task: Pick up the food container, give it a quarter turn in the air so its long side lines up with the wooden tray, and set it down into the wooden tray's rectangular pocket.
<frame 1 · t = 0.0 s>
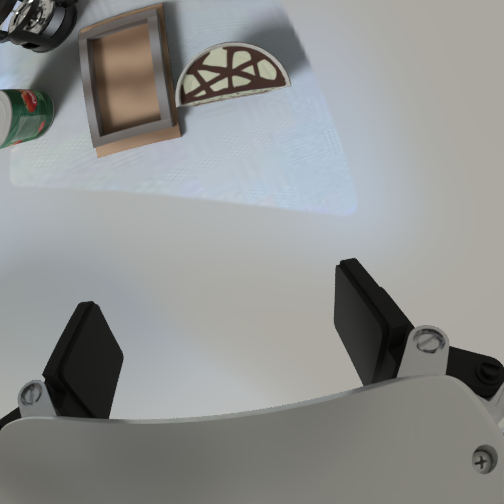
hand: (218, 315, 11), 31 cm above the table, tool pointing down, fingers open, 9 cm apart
french press: (54, 23, 25), on the table
canned tomato: (35, 114, 31), on the table
wooden tray: (127, 78, 31), on the table
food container: (226, 77, 33), on the table
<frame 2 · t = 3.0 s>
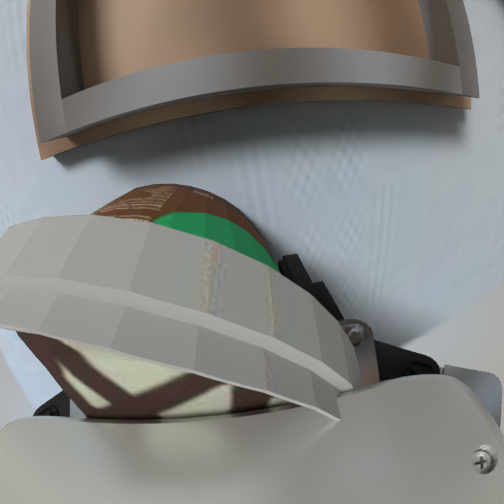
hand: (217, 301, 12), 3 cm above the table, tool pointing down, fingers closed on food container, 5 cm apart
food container: (228, 265, 14), on the table, touching gripper
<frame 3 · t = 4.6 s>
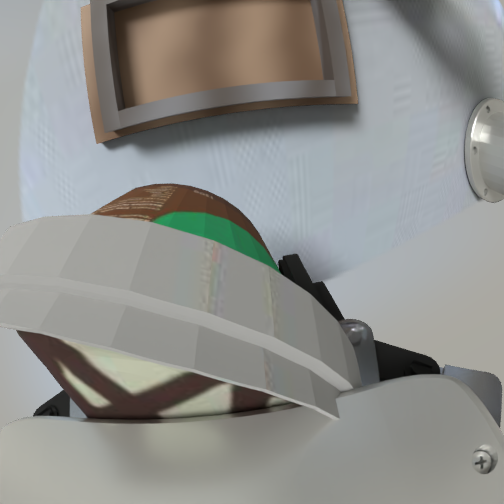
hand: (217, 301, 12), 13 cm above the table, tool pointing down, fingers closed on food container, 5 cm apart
wooden tray: (217, 40, 17), on the table
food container: (228, 265, 14), point 10 cm above the table, touching gripper
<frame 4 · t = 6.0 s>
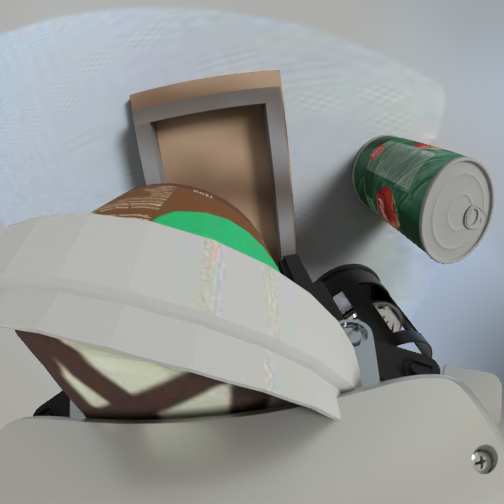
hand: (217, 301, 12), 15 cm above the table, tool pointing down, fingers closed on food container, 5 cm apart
french press: (339, 300, 32), on the table
canned tomato: (386, 173, 26), on the table
wooden tray: (221, 193, 25), on the table
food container: (228, 265, 14), point 13 cm above the table, touching gripper
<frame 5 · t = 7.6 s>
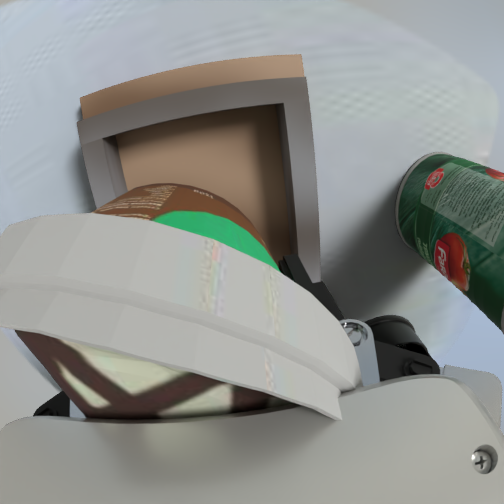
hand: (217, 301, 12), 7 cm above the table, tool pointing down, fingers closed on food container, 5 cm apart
french press: (365, 355, 25), on the table
canned tomato: (434, 202, 19), on the table
wooden tray: (216, 237, 18), on the table
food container: (228, 265, 14), point 4 cm above the table, touching gripper
when the fingers open (5 cm above the table, at t = 8.9 s): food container drops 1 cm, resting on wooden tray.
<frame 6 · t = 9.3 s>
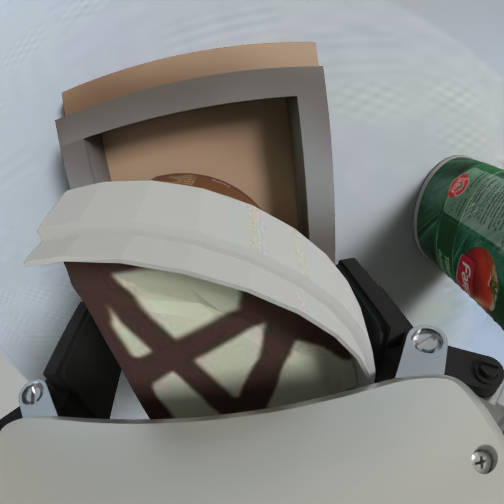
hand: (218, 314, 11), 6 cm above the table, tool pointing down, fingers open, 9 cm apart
canned tomato: (453, 209, 17), on the table
wooden tray: (216, 249, 16), on the table
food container: (240, 251, 15), point 1 cm above the table, touching wooden tray
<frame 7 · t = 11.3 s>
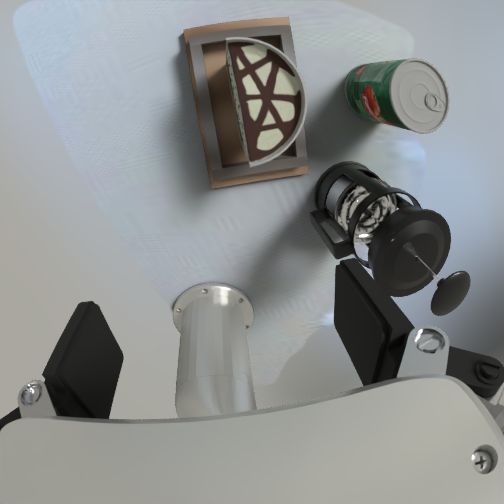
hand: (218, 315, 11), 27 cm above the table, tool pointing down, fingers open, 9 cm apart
french press: (342, 195, 38), on the table
canned tomato: (370, 92, 31), on the table
wooden tray: (248, 99, 31), on the table
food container: (259, 97, 30), point 1 cm above the table, touching wooden tray
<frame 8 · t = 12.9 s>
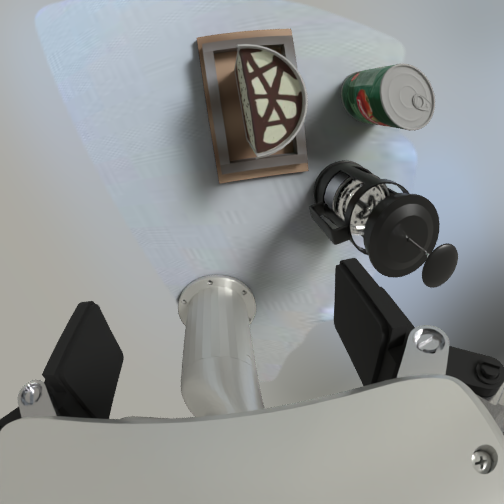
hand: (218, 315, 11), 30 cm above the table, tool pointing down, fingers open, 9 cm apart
french press: (340, 192, 41), on the table
canned tomato: (365, 97, 35), on the table
wooden tray: (254, 102, 34), on the table
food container: (264, 100, 34), point 1 cm above the table, touching wooden tray
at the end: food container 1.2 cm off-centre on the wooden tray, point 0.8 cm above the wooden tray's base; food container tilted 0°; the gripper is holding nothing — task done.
